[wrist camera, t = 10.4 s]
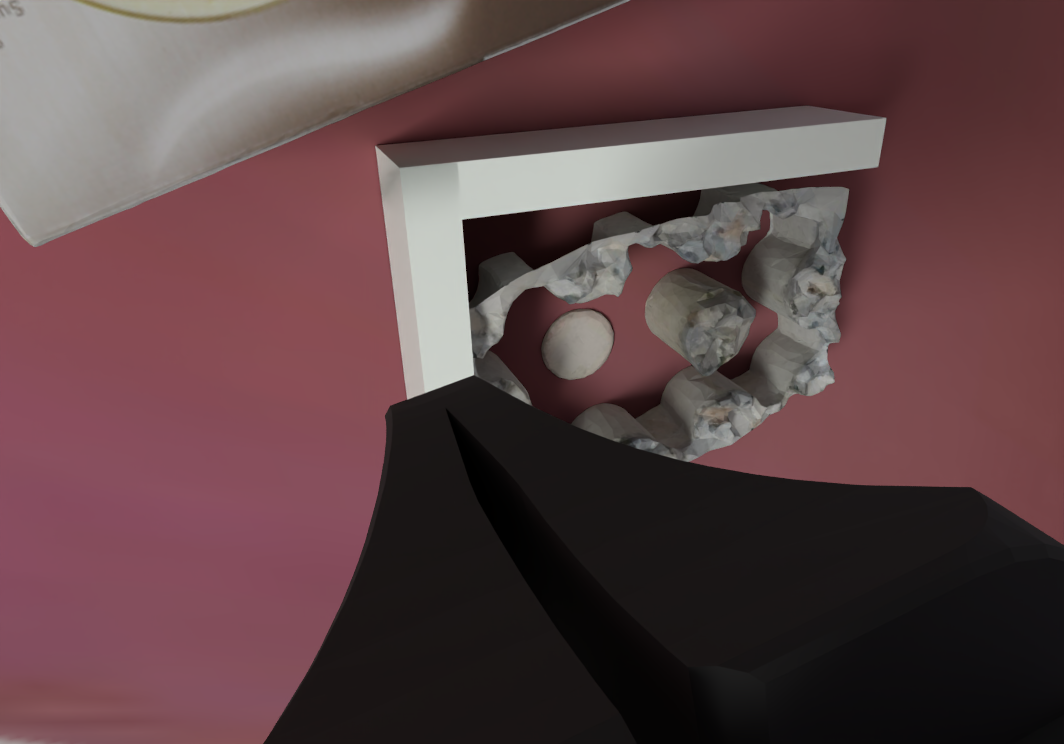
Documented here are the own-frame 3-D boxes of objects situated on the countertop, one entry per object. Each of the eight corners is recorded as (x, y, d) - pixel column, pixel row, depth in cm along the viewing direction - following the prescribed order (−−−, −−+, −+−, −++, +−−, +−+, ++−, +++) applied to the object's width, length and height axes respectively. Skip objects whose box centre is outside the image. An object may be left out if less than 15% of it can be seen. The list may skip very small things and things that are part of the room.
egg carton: (482, 477, 23) (527, 561, 19) (424, 248, 19) (466, 300, 16) (778, 372, 25) (865, 429, 22) (777, 149, 22) (880, 176, 18)
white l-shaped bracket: (807, 105, 21) (886, 117, 18) (748, 579, 29) (798, 634, 26) (375, 145, 17) (399, 167, 15) (441, 674, 25) (465, 747, 23)
